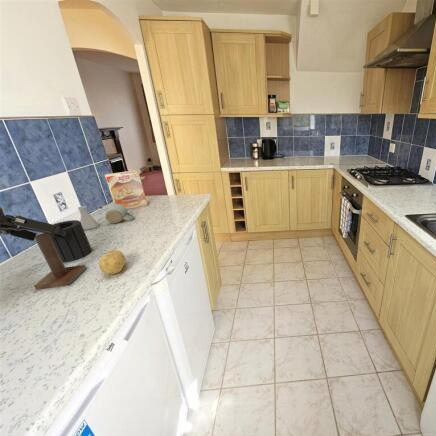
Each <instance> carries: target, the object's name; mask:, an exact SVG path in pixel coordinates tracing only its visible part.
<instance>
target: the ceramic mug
mask: <svg viewBox="0 0 436 436" xmlns="http://www.w3.org/2000/svg"><path fill="white" fill-rule="evenodd" d="M128 216H129V217H128ZM134 218H135V215H134V214H133V213H131V212H129V211H128V209H126V207H125V206H123V205H121V204H114V203H113V204H112V205H110V207H108V210H106V213H105V219H106V220H107V221H108V222H109V223H111V224H119V223H120V222H122V221H132V220H134Z"/></svg>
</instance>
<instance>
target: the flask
mask: <svg viewBox="0 0 436 436" xmlns="http://www.w3.org/2000/svg"><path fill="white" fill-rule="evenodd" d="M87 208H88V206H87V205H82V206H78V207H77V210H78V211H79V214H80V220H79V221H80V222H81V224H82V227H83V229H84V231H86V230H92V229H94V228H97V227H99V225H100V224H99V222H97V220H96V219H95V218H94V217H93V216H92V215H91V214H90V212H89V210H88V209H87Z"/></svg>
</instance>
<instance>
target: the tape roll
mask: <svg viewBox="0 0 436 436" xmlns="http://www.w3.org/2000/svg"><path fill="white" fill-rule="evenodd" d="M80 221H81V220H77V219H71V220H63V221H59V222H55V223H53V225H58V226H60V229H62V230H65V231H68V232H71V233H74V234H73V236H72V239H71V241H67V240H64V239H60V238H57V237H54V236H53V237H51V236H50V237H51V239H52V241H53V243H54V245H55V247H56V249H57V251H58V253H59V255H60V257H61V260H62V262H63V263H69V262H75V261H77V260H81V259H83V258H84V257H86V256H88V255H90V253H92V251H93V249H92V246H91V244H90V242H89V239H88V237H87V235H86V232H85V230H84V229H83V227H82V224H81V222H80Z"/></svg>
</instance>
